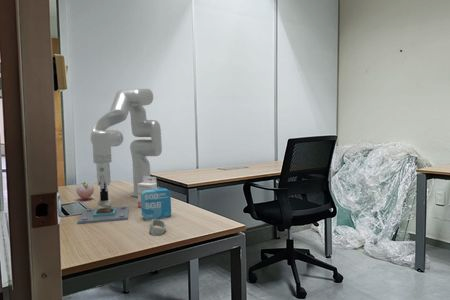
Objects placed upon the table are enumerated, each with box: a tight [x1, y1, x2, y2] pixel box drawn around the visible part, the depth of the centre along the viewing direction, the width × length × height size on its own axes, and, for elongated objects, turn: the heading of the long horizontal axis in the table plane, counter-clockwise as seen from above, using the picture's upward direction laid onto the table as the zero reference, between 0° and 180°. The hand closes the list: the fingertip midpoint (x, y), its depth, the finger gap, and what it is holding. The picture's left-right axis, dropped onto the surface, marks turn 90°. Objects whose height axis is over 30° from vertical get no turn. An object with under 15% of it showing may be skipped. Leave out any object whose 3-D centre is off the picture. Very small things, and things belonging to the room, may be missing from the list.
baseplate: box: [76, 205, 130, 225], centre depth 154 cm, size 20×20×2 cm
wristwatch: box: [149, 219, 167, 236], centre depth 130 cm, size 9×6×5 cm
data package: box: [140, 187, 172, 221], centre depth 149 cm, size 12×4×12 cm, turn 114°
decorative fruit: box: [75, 181, 95, 200], centre depth 187 cm, size 9×8×10 cm
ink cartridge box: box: [137, 176, 158, 208], centre depth 168 cm, size 9×5×15 cm, turn 65°
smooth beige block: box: [97, 198, 112, 214], centre depth 154 cm, size 5×5×6 cm
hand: (104, 200), depth 153 cm, fingers closed
